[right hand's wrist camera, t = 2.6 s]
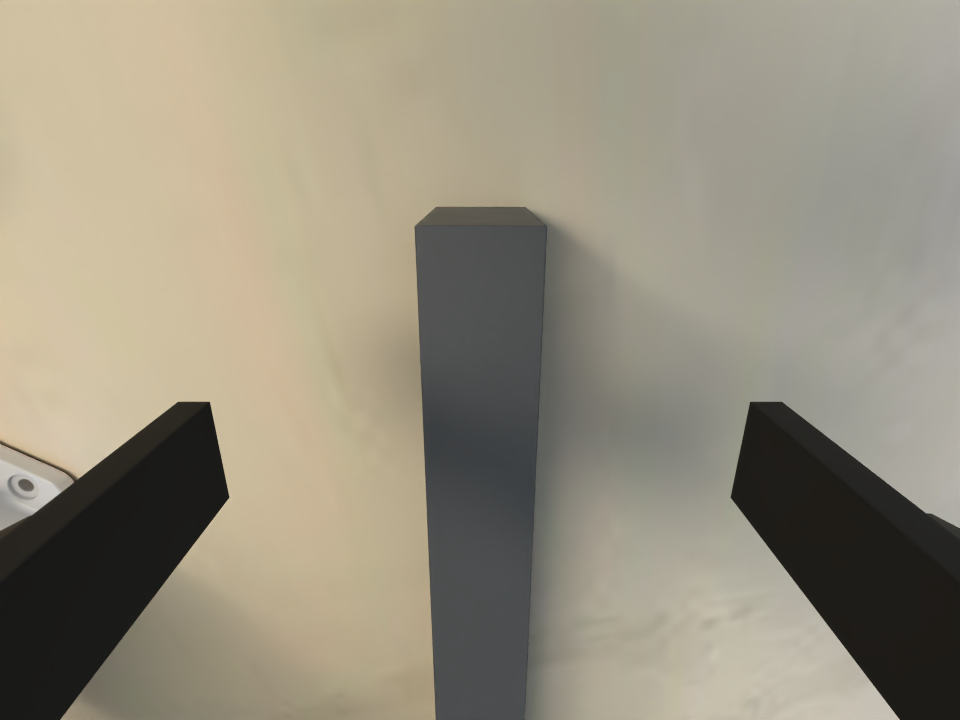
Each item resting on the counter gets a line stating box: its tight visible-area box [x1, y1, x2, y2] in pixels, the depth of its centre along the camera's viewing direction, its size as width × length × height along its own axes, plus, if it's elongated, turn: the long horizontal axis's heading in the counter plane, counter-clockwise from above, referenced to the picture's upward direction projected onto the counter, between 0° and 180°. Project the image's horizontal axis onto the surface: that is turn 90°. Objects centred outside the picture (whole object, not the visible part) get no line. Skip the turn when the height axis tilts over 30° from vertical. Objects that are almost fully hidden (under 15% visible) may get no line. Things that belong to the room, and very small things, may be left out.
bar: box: [415, 207, 547, 720], centre depth 31 cm, size 55×4×9 cm, turn 0°
